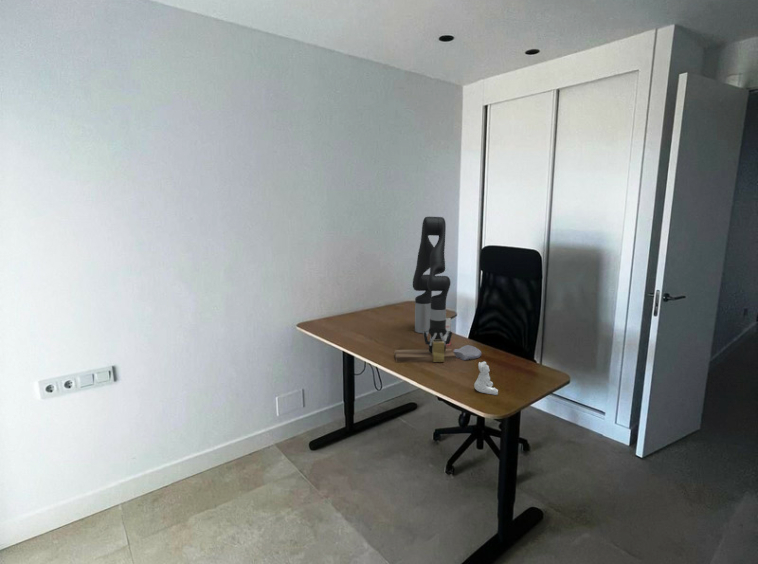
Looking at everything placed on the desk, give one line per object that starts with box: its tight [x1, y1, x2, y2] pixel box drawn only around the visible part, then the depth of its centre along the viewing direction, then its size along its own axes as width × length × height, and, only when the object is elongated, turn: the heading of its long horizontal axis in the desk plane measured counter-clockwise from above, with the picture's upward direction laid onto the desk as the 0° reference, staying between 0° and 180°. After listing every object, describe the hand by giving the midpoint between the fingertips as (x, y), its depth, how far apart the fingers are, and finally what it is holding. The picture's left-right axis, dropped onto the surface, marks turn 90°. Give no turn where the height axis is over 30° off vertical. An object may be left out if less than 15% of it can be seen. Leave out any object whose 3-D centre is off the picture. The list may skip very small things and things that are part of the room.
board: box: [394, 348, 457, 363], centre depth 203 cm, size 10×28×2 cm, turn 94°
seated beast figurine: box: [473, 360, 499, 396], centre depth 167 cm, size 10×9×12 cm
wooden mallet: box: [431, 339, 445, 363], centre depth 204 cm, size 15×5×9 cm, turn 4°
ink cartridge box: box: [444, 317, 452, 346], centre depth 221 cm, size 9×5×15 cm, turn 115°
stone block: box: [453, 344, 482, 361], centre depth 205 cm, size 12×5×10 cm
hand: (437, 352), depth 201 cm, fingers closed on wooden mallet, 5 cm apart
